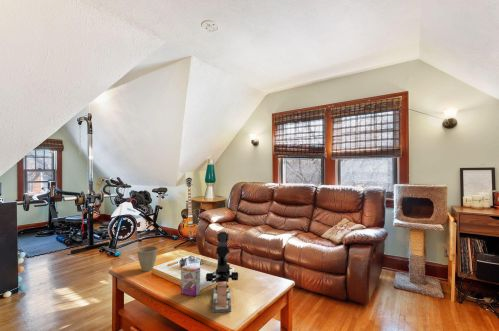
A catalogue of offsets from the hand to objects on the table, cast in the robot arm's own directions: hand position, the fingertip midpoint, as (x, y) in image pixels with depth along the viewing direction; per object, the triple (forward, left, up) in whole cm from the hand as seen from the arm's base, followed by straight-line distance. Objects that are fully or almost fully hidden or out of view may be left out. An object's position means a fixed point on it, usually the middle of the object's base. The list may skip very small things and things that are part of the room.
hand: (222, 291), depth 145 cm
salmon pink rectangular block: (+2, -1, -6) cm, 7 cm away
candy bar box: (-24, -9, -8) cm, 27 cm away
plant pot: (-79, -21, -8) cm, 82 cm away
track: (-4, +2, -8) cm, 9 cm away
